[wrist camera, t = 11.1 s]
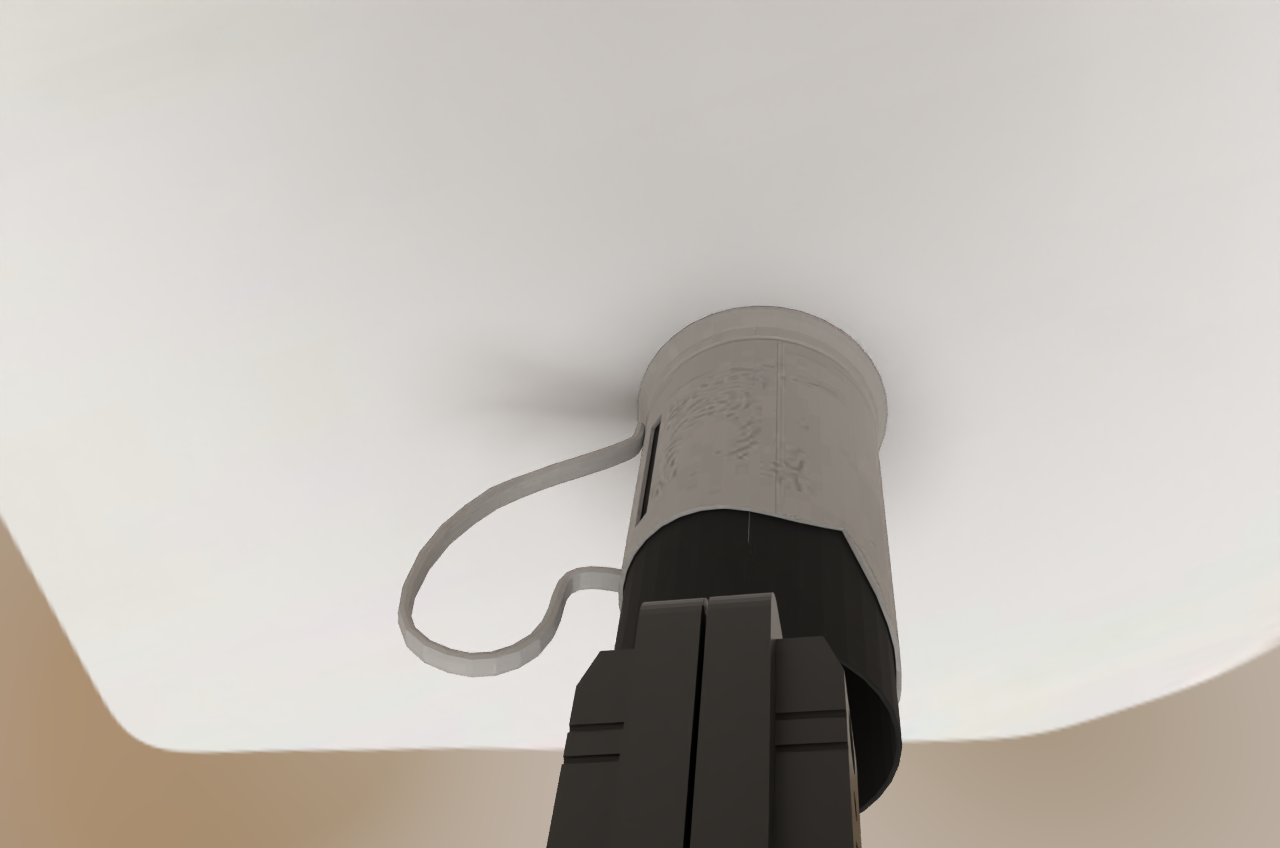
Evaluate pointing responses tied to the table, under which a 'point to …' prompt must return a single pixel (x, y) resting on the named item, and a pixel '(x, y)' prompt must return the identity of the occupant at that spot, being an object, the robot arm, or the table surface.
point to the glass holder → (740, 507)
